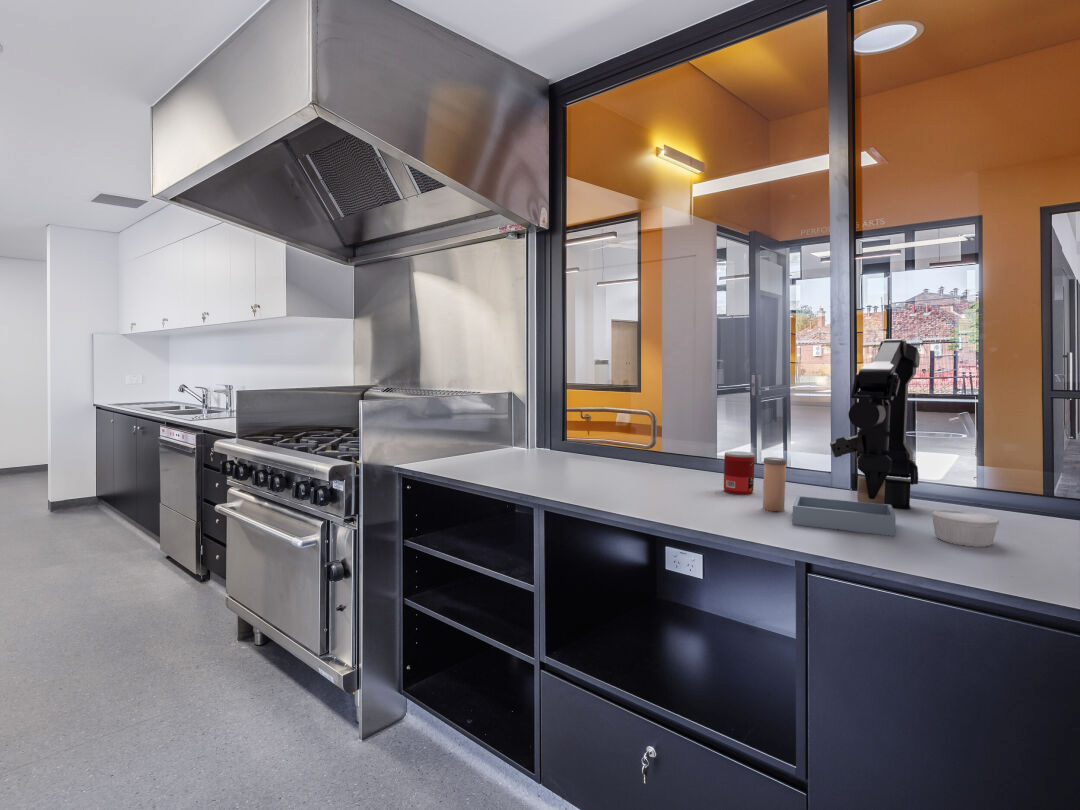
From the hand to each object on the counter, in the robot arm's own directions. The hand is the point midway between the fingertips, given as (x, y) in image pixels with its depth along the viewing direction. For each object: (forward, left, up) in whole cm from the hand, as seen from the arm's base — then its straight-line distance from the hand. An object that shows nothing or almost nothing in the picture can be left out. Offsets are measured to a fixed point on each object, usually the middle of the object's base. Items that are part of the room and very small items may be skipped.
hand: (871, 496), depth 130 cm
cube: (0, 0, -1) cm, 1 cm away
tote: (+6, 0, -7) cm, 9 cm away
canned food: (+32, -25, -7) cm, 41 cm away
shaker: (+21, -7, -7) cm, 23 cm away
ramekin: (-16, +3, -7) cm, 18 cm away
